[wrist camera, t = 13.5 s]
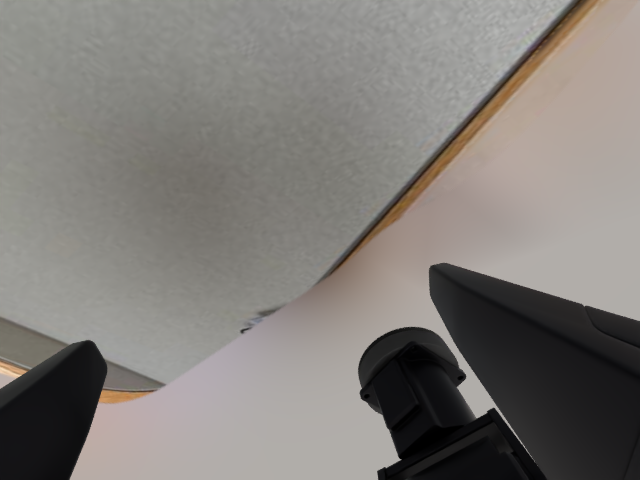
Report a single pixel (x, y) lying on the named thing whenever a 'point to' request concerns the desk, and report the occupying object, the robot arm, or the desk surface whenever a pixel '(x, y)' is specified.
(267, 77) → the desk surface
